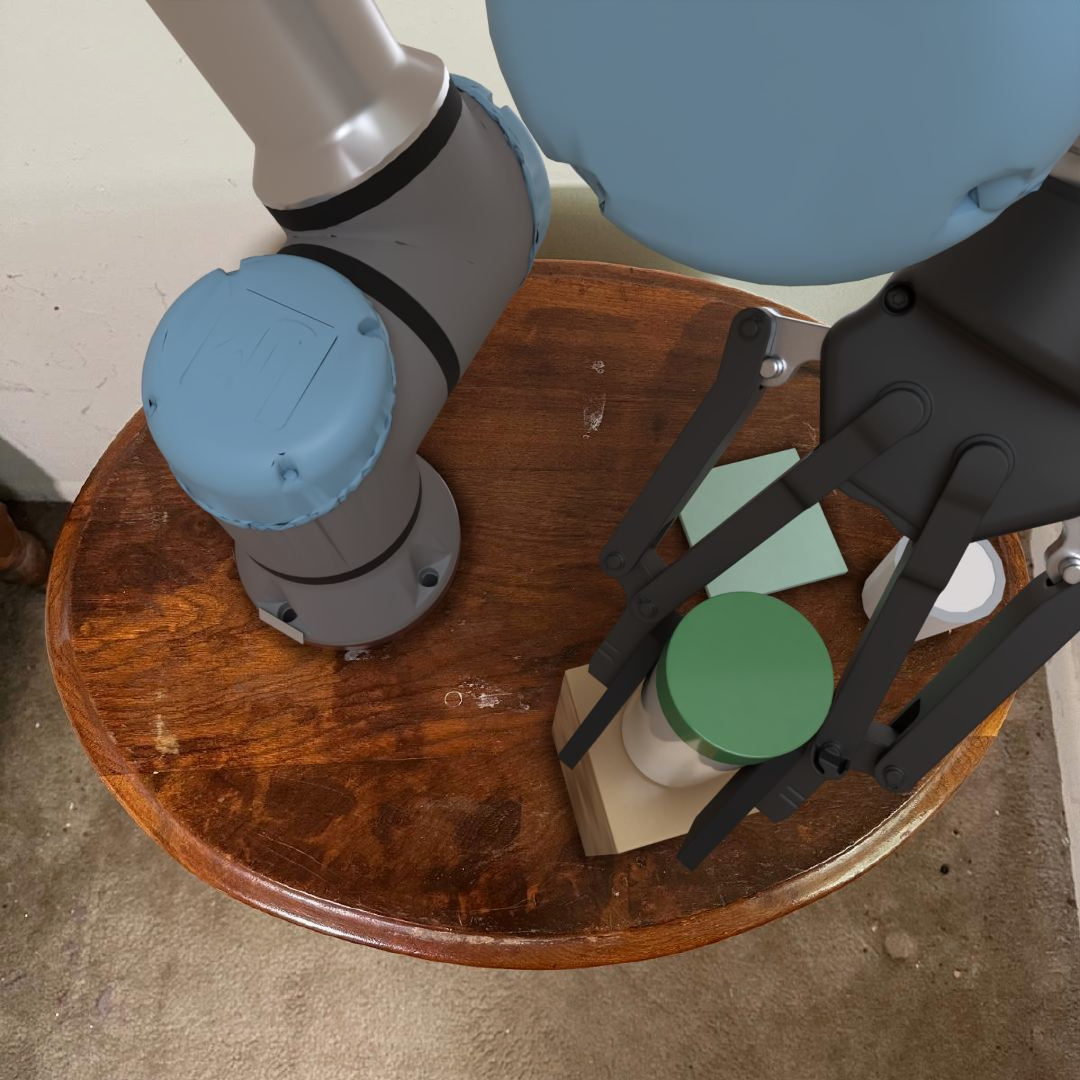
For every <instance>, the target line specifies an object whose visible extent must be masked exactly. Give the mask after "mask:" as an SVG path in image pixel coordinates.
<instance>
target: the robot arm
mask: <svg viewBox="0 0 1080 1080" xmlns="http://www.w3.org/2000/svg"><path fill="white" fill-rule="evenodd" d="M484 1H485V2H484V3H485V10H486V11H485V12H486V18H487V27H488V33H489V38H490V41H491V44H492V48H493V51H494V54H495V58H496V62H497V64H498V67H499V71H500V72H501V75H502V78H503V79H504V82H505V84H506V87H507V90H508V91H509V93H510V96H511V98H512V101H513V103H514V105H515V108H516V109H517V112H518V114H519V116H520V117H519V116H518V115H517V113H516V112H515V111H514V110H513V109H512V108H511V107H510V106H509V105H508V104H505V105H503V106H502V107H499V106H498V105H496V104H495V102H494V99H493V91H491V90H490V89H488V87H485V86H484V85H483V84H481V83H479V82H477V81H476V80H473V79H471V78H469V77H467V76H464V75H459V74H456V73H452V72H449V70H448V66H446V64H445V62H444V61H443V60H442V58H441V57H440V56H438V55H437V54H435V53H432V52H429V51H427V50H424V49H420V48H416V47H413V46H410V45H406V44H403V43H400V42H399V41H397V39H396V37H395V35H394V34H393V32H392V30H391V28H390V27H389V24H388V22H387V20H386V19H385V17H384V15H383V13H382V12H381V10H380V8H379V6H378V4H377V3H376V0H145V2H146V3H147V5H148V6H149V7H150V9H151V10H152V11H153V13H154V14H155V15H156V16H157V18H158V19H159V20H160V21H161V23H162V24H163V26H164V27H165V28H166V30H167V31H168V32H169V34H170V35H171V37H172V38H173V39H174V40H175V41H176V43H177V44H178V46H179V47H180V48H181V50H182V51H183V52H184V53H185V55H186V56H187V57H188V59H189V60H190V61H191V62H192V65H193V66H194V67H195V68H196V69H197V70H198V72H199V74H201V76H202V77H203V78H204V80H205V81H206V82H207V84H208V85H209V86H210V87H211V89H212V90H213V92H214V93H215V94H216V95H217V97H218V98H219V99H220V101H221V102H222V103H223V105H224V106H225V108H226V109H227V110H228V111H229V113H230V114H231V115H232V117H233V118H234V119H235V122H237V124H238V125H239V126H240V127H241V128H242V130H243V131H244V132H245V134H246V135H247V137H248V138H249V139H250V141H251V142H252V144H253V145H254V157H253V158H254V159H253V167H252V177H251V178H252V180H251V181H252V183H251V185H252V189H253V191H254V194H255V196H256V197H257V198H258V200H259V201H260V202H261V204H262V205H263V206H264V208H265V209H266V210H267V211H268V213H269V214H270V215H271V216H272V218H273V219H274V220H275V222H276V223H277V224H278V226H279V227H280V228H281V229H282V231H283V232H284V234H285V236H286V240H285V241H284V243H283V244H282V245H281V247H280V249H279V250H278V251H276V253H275V254H274V253H273V254H263V255H253V256H249V257H245V258H242V259H240V262H239V264H240V265H239V267H238V269H236V270H235V269H234V270H231V271H227V272H226V271H225V270H224V269H223V268H222V267H221V268H220V267H217V268H215V269H213V270H211V271H210V272H208V273H206V274H204V275H203V276H201V277H200V278H199V279H197V280H195V282H193V283H192V284H191V285H189V287H187V288H186V289H185V290H184V291H183V292H181V293H180V294H179V296H178V297H176V298H175V300H174V301H173V302H172V303H171V305H170V306H169V307H168V309H167V310H166V311H165V312H164V314H163V315H162V317H161V318H160V320H159V321H158V323H157V325H156V328H155V330H154V332H153V333H152V335H151V337H150V341H149V342H148V346H147V348H146V353H145V356H144V360H143V364H142V371H141V381H140V382H141V383H140V384H141V385H140V386H141V390H140V391H141V402H142V407H143V408H142V409H143V413H144V415H145V419H146V424H147V426H148V429H149V432H150V435H151V437H152V439H153V442H154V443H155V444H156V446H157V448H158V450H159V451H160V453H161V454H162V456H163V457H164V459H165V461H166V462H167V465H168V467H169V469H170V472H171V473H172V474H173V476H174V478H175V480H176V481H177V482H178V484H179V485H180V487H181V488H182V489H183V491H184V492H185V493H186V494H187V495H188V496H189V497H190V498H191V500H192V501H194V502H195V504H196V505H198V506H199V507H200V508H201V509H202V510H204V511H205V512H207V513H208V514H210V515H211V516H212V517H213V518H214V520H216V522H217V523H219V526H221V527H222V528H223V529H224V530H225V531H226V533H228V535H229V536H230V537H231V538H232V540H234V555H235V563H236V568H237V572H238V575H239V579H240V582H241V584H242V586H243V588H244V591H245V593H246V594H247V596H248V599H249V600H250V602H251V603H252V604H253V605H254V606H255V608H256V609H257V610H258V614H259V615H258V617H259V620H261V621H262V622H265V624H268V625H269V626H271V627H273V628H275V629H276V630H278V631H280V632H281V633H283V634H285V635H286V636H288V637H289V638H292V639H293V640H294V641H296V642H298V643H299V644H302V645H304V644H305V645H308V646H311V647H315V648H318V649H324V650H331V651H356V650H365V649H369V648H374V647H377V646H381V645H385V644H387V643H389V642H391V641H394V640H396V639H398V638H400V637H402V636H404V635H406V634H407V633H409V632H410V631H412V630H414V629H415V628H416V627H417V626H419V625H420V624H422V623H423V622H424V621H425V620H426V619H427V618H428V617H429V616H430V615H431V614H433V612H434V611H435V610H436V609H437V607H438V606H439V605H440V604H441V603H442V601H443V600H444V598H445V597H446V595H447V594H448V592H449V590H450V589H451V586H452V584H453V582H454V579H455V578H456V575H457V572H458V568H459V565H460V560H461V554H462V529H461V523H460V518H459V512H458V508H457V506H456V502H455V499H454V497H453V495H452V493H451V491H450V489H449V487H448V485H447V484H446V482H445V481H444V480H443V478H442V477H441V475H440V474H439V472H437V471H436V470H435V468H434V467H433V466H432V465H431V464H430V463H429V462H427V460H425V459H424V458H423V457H422V456H420V455H419V454H417V451H418V450H419V447H420V445H421V444H422V441H423V440H424V439H425V437H426V435H427V434H428V432H429V430H430V428H431V427H432V425H433V423H434V422H435V421H436V418H437V417H438V415H439V414H440V412H441V411H442V409H443V407H444V405H445V404H446V403H447V400H449V397H450V395H451V394H452V392H453V391H454V389H455V387H457V385H458V384H459V382H460V381H461V380H462V377H463V376H464V374H465V373H466V372H467V370H468V368H469V366H470V365H471V363H472V362H473V360H474V359H475V357H476V356H477V354H478V352H479V351H480V349H481V347H482V346H483V344H484V343H485V341H486V340H487V338H488V336H489V335H490V334H491V331H493V329H494V327H495V326H496V323H497V322H498V321H499V319H500V317H501V316H502V314H503V313H504V311H505V310H506V307H507V306H509V305H508V304H509V303H510V301H511V300H512V299H513V297H514V296H515V295H516V294H517V293H518V292H519V290H520V289H521V288H522V286H523V285H524V283H525V282H526V280H527V276H528V275H529V274H530V272H531V270H532V267H533V265H534V262H535V259H536V255H537V253H538V251H539V249H540V248H541V246H542V244H543V242H544V240H545V238H546V235H547V232H548V229H549V225H550V220H551V211H552V193H551V185H550V180H549V176H548V172H547V168H546V165H545V161H544V158H543V157H542V154H543V155H544V156H545V158H547V159H549V160H550V161H553V162H555V163H562V164H567V165H569V166H570V167H571V168H572V169H573V170H574V172H575V173H576V174H577V175H578V176H579V177H580V178H581V179H582V180H583V181H584V182H585V184H587V185H588V186H589V188H590V189H591V190H592V191H593V193H594V195H596V197H597V200H598V207H599V211H600V215H601V216H602V217H603V218H605V219H606V220H607V221H608V222H610V223H611V224H612V225H613V226H615V228H617V229H618V230H619V231H620V232H622V233H623V234H624V235H625V236H627V237H629V238H631V239H632V240H634V241H636V242H637V243H639V244H640V245H642V246H644V247H645V248H647V249H649V250H650V251H652V252H654V253H657V254H659V255H660V256H663V257H664V258H667V259H669V260H671V261H673V262H675V263H678V264H680V265H683V266H685V267H688V268H691V269H694V270H696V271H698V272H702V273H705V274H710V275H714V276H718V277H723V278H726V279H731V280H736V281H740V282H744V283H745V282H746V283H751V284H755V285H760V286H774V287H775V286H776V287H789V288H790V287H815V286H816V287H817V286H832V285H839V284H846V283H853V282H859V281H864V280H867V279H871V278H876V277H879V276H883V275H888V274H891V273H892V274H891V275H890V276H889V277H888V278H887V280H886V282H885V283H884V285H882V287H881V288H880V290H879V291H877V293H876V294H875V295H874V296H873V297H872V298H871V299H870V300H868V302H865V304H863V305H862V306H861V307H859V308H857V309H855V310H854V311H851V312H848V313H847V314H845V315H843V316H842V317H840V318H839V319H838V320H837V321H835V322H834V323H833V324H832V325H827V324H822V323H818V322H813V321H809V320H805V319H799V318H795V317H789V316H785V315H784V314H783V313H782V312H781V311H780V310H779V309H777V308H775V307H773V306H750V307H749V306H748V307H745V308H742V309H741V310H739V311H738V312H737V313H736V314H735V315H734V317H733V319H732V321H731V322H730V326H729V330H728V333H727V338H726V341H725V345H724V349H723V353H722V357H721V360H720V364H719V368H718V372H717V376H716V379H715V381H714V382H713V384H712V386H711V387H710V388H709V389H708V391H707V393H706V394H705V396H704V397H703V399H702V400H701V402H700V403H699V404H698V406H697V408H696V409H695V411H694V412H693V413H692V415H691V417H690V418H689V420H688V421H687V422H686V424H685V426H684V427H683V428H682V430H681V431H680V433H679V435H678V436H677V438H676V439H675V441H673V443H672V444H671V446H670V448H669V449H668V451H667V452H666V453H665V455H664V456H663V458H662V460H661V461H660V463H659V464H658V466H657V467H656V468H655V470H654V471H653V473H652V474H651V476H650V477H649V479H648V480H647V481H646V483H645V485H644V486H643V488H642V489H641V491H640V492H639V493H638V495H637V497H636V498H635V499H634V501H633V503H632V504H631V505H630V507H629V509H627V512H626V513H625V514H624V516H623V518H622V519H621V520H620V522H619V523H618V525H616V528H615V529H614V531H613V532H612V534H611V535H610V537H609V538H608V540H607V541H606V542H605V544H604V545H603V547H602V548H601V550H600V553H599V555H598V564H599V567H600V569H601V570H602V572H604V574H605V575H606V576H609V577H610V578H613V579H614V578H615V579H616V581H617V582H618V584H619V585H620V587H621V588H622V590H623V592H624V595H625V597H626V598H625V599H626V605H625V608H624V611H623V613H622V614H621V615H620V617H619V618H618V619H617V621H616V622H615V624H614V625H613V627H612V628H611V629H610V630H609V632H608V634H607V635H606V636H605V637H604V639H603V640H602V641H601V643H600V645H599V646H598V648H597V649H596V650H595V652H594V653H593V654H592V656H591V657H590V659H589V662H588V664H589V668H588V673H589V674H591V675H592V676H593V677H594V678H596V679H597V680H598V681H599V682H600V683H602V684H603V685H604V686H605V687H607V688H608V689H607V690H606V691H605V693H604V694H603V695H602V697H601V698H600V699H599V701H598V702H597V703H596V705H595V706H594V707H593V709H592V710H591V711H590V713H589V714H588V715H587V717H586V718H585V719H584V721H583V722H582V723H581V725H580V726H579V727H578V729H577V730H576V732H575V733H574V734H573V736H572V737H571V738H570V740H569V741H568V742H567V744H566V745H565V746H564V748H563V749H562V750H561V752H560V753H559V754H558V753H557V755H556V758H557V759H558V760H559V761H560V760H561V761H562V762H563V763H564V764H565V765H566V766H568V767H569V768H570V769H571V770H573V768H574V767H575V766H576V765H577V764H578V762H579V761H580V760H581V759H582V757H583V756H584V755H585V754H586V752H587V751H588V750H589V749H590V748H591V746H592V745H593V744H594V743H595V741H596V740H597V739H598V738H599V736H600V735H601V734H602V733H603V731H604V730H605V729H606V727H607V726H608V725H609V723H610V722H611V721H612V720H613V718H614V717H615V716H616V714H617V713H618V712H619V711H620V709H621V708H622V707H623V705H624V704H625V703H626V701H627V700H628V699H629V698H630V696H631V695H632V694H633V692H634V691H635V690H636V689H637V687H638V686H639V685H640V683H641V682H642V681H643V679H644V678H645V677H646V676H647V674H648V673H649V671H650V670H651V669H652V667H653V666H654V664H655V663H656V661H657V660H658V659H659V657H660V654H661V652H662V649H663V647H664V645H665V644H666V642H667V640H668V639H669V637H670V636H671V634H672V633H673V631H674V630H675V628H676V627H677V625H678V624H679V623H680V621H681V620H682V619H683V618H684V616H683V615H681V614H680V613H679V612H677V609H678V608H679V607H680V606H682V605H683V604H685V603H686V602H687V601H688V600H690V599H691V598H692V597H694V596H695V595H697V594H698V593H699V592H700V591H702V590H703V589H705V586H707V585H708V584H709V583H711V582H712V581H713V580H715V579H716V578H717V577H718V576H720V575H721V574H722V573H724V572H725V571H726V570H728V569H729V568H730V567H732V566H733V565H734V564H736V563H737V562H738V561H739V560H741V559H742V558H743V557H745V556H746V555H747V554H749V553H750V552H751V551H753V550H754V549H755V548H757V547H758V546H759V545H760V544H762V543H763V542H764V541H766V540H767V539H768V538H770V537H771V536H772V535H774V534H775V533H776V532H778V531H779V530H780V529H781V528H783V527H784V526H785V525H787V524H788V523H789V522H791V521H792V520H793V519H795V518H796V517H797V516H799V515H800V514H801V513H803V512H804V511H805V510H807V509H809V508H811V507H812V506H814V505H815V504H816V503H818V502H820V501H822V500H823V499H824V498H826V497H827V496H829V495H830V494H831V493H832V492H834V491H835V490H838V491H840V492H841V493H843V494H844V495H845V496H846V497H848V498H849V499H851V500H854V501H856V502H859V503H862V504H864V505H867V506H869V507H872V508H876V509H877V510H879V511H880V512H881V514H882V515H883V516H884V517H885V518H886V519H887V520H888V522H889V523H890V524H891V525H892V526H893V527H894V529H895V530H896V531H897V532H898V533H900V534H901V535H903V536H906V537H907V538H909V540H908V542H907V545H906V547H905V549H904V552H903V554H902V556H901V558H900V560H899V562H898V564H897V566H896V568H895V570H894V572H893V574H892V576H891V578H890V580H889V582H888V584H887V586H886V588H885V590H884V592H883V594H882V596H881V598H880V600H879V602H878V604H877V606H876V608H875V610H874V612H873V614H872V616H871V618H870V620H868V622H867V624H866V626H865V628H864V630H863V632H862V634H861V636H860V638H859V640H858V642H857V644H856V645H855V648H854V649H853V652H852V654H851V656H850V658H849V660H848V662H847V663H846V666H845V668H844V670H843V671H842V674H841V676H840V678H839V680H838V682H837V683H836V685H835V687H834V691H833V698H832V703H831V706H830V709H829V712H828V714H827V716H826V718H825V720H824V722H823V724H822V725H821V727H820V728H819V729H818V731H817V732H816V733H815V734H814V735H813V736H812V737H811V738H810V739H809V740H808V741H807V742H805V743H804V744H803V745H801V746H800V747H798V748H796V749H795V750H793V751H791V752H788V753H786V754H783V755H781V756H778V757H775V758H773V759H770V760H768V761H765V762H762V763H757V764H753V765H746V766H744V767H742V768H740V769H739V770H738V771H737V772H736V773H735V775H734V776H733V777H732V778H731V779H730V780H729V781H728V782H727V783H726V784H725V786H724V787H723V788H722V789H721V790H720V791H719V792H718V793H717V794H716V795H715V796H714V798H713V799H712V800H711V801H710V802H709V803H708V804H707V805H706V806H705V807H704V808H703V810H702V811H701V812H700V813H699V814H698V815H697V816H696V817H695V819H694V821H693V823H692V825H691V827H690V829H689V831H688V833H686V834H685V835H686V836H685V838H684V839H683V841H682V843H681V846H680V847H679V849H678V851H677V853H676V856H675V857H674V859H676V860H677V861H678V862H679V863H680V864H682V865H683V866H684V867H685V868H686V869H687V870H688V871H690V872H691V873H693V872H694V871H695V870H696V869H697V868H698V867H699V865H701V864H702V863H703V862H704V860H706V859H707V858H708V856H709V855H711V854H712V853H713V852H714V850H715V849H716V848H717V847H718V846H719V845H720V844H721V843H722V842H723V841H724V840H725V839H726V838H727V837H728V836H729V835H730V834H731V832H732V831H734V830H735V828H737V826H738V825H739V824H740V823H741V822H742V821H743V820H744V819H745V818H746V817H747V816H749V815H748V814H749V812H750V811H751V810H752V809H753V808H754V807H755V808H756V809H758V810H759V811H760V812H759V813H761V814H763V815H764V816H765V817H766V818H767V819H769V820H770V821H771V822H772V823H774V824H776V823H779V822H782V821H784V820H787V819H789V818H790V817H791V816H792V815H793V814H794V813H795V812H796V811H797V810H798V809H799V808H800V807H801V806H802V805H803V804H804V803H805V802H806V801H807V800H808V799H809V798H810V797H811V796H812V795H813V794H814V793H815V792H816V791H817V790H818V789H820V787H821V786H822V785H823V784H824V783H825V782H827V780H828V781H838V780H840V779H843V778H845V777H846V775H847V774H848V773H849V771H850V770H853V771H856V772H860V773H862V774H865V775H867V776H870V777H872V778H874V779H875V782H876V783H877V784H878V785H879V786H880V788H882V789H884V790H885V791H887V792H890V793H895V794H900V793H906V792H908V791H909V790H911V789H912V788H913V787H914V786H916V785H917V784H918V783H919V782H920V781H921V780H922V779H923V778H924V777H925V776H926V775H927V774H928V773H929V772H930V771H932V769H933V768H935V767H936V765H938V764H939V763H940V762H941V761H942V760H944V759H945V758H946V757H947V756H948V755H949V754H950V753H951V752H952V751H953V750H954V749H955V748H956V747H958V745H959V744H961V742H963V741H964V740H965V739H966V738H967V737H968V736H969V735H970V734H971V733H972V732H973V731H974V730H976V729H977V728H978V727H979V726H980V725H981V724H982V723H983V722H984V721H985V720H987V718H988V717H989V716H990V715H992V714H993V713H994V712H995V711H996V710H997V709H998V708H999V707H1000V706H1001V705H1003V704H1004V702H1005V701H1006V700H1008V699H1009V698H1010V697H1011V696H1013V694H1014V693H1015V692H1016V691H1017V690H1018V689H1020V687H1021V686H1023V685H1024V684H1025V683H1026V682H1027V681H1028V680H1029V679H1031V677H1033V675H1034V674H1035V673H1036V672H1037V671H1039V670H1040V669H1041V668H1042V667H1043V666H1044V665H1045V664H1046V663H1047V662H1048V661H1049V660H1051V658H1053V657H1054V656H1055V655H1056V654H1057V653H1058V652H1059V651H1061V649H1062V648H1063V647H1064V646H1065V645H1067V644H1068V643H1069V642H1070V641H1071V640H1072V639H1073V638H1074V637H1075V636H1076V635H1077V634H1078V633H1079V632H1080V0H484ZM538 147H539V148H538ZM541 152H542V154H541ZM811 361H814V362H819V431H818V432H819V435H818V436H819V437H818V439H819V440H818V441H819V442H818V444H817V445H816V446H815V447H813V448H812V449H810V451H809V452H807V453H806V454H804V455H803V456H802V457H801V458H800V460H799V461H798V462H796V463H795V464H794V465H793V466H792V467H790V468H789V469H788V470H787V471H786V472H784V473H783V474H782V475H781V476H779V477H778V478H777V479H776V480H774V481H773V482H772V483H771V484H769V485H768V486H767V487H766V488H764V489H763V490H762V491H761V492H759V493H758V494H757V495H756V496H754V497H753V498H752V499H751V500H749V501H748V502H747V503H746V504H744V505H743V506H742V507H741V508H739V509H738V510H737V511H736V512H734V513H733V514H732V515H731V516H729V517H728V518H727V519H726V520H724V521H723V522H722V523H721V524H720V525H718V526H717V527H716V528H715V529H713V530H712V531H711V532H710V533H708V534H707V535H706V536H705V537H703V538H702V539H701V540H700V541H698V542H697V543H696V544H695V545H693V546H692V547H691V548H690V547H689V548H688V549H687V550H686V551H684V552H683V553H682V554H681V555H680V556H678V557H677V558H676V559H674V560H673V561H672V562H671V563H669V564H668V565H667V566H666V564H665V563H664V561H663V560H662V558H661V557H660V555H659V554H658V552H657V551H656V548H657V547H658V545H659V544H660V542H661V541H662V539H663V538H664V537H665V536H666V534H667V533H668V531H669V530H670V528H671V527H672V526H673V525H674V523H675V521H676V520H677V519H678V518H679V514H680V513H681V512H682V510H683V509H684V507H685V506H686V505H687V503H688V502H689V500H690V499H691V498H692V496H693V495H694V493H695V492H696V491H697V489H698V488H699V486H700V485H701V484H702V482H703V481H704V479H705V478H706V476H707V475H708V474H709V472H710V471H711V469H712V468H715V465H716V464H717V463H718V461H719V460H720V458H721V457H722V456H723V454H724V453H725V452H726V450H727V448H728V447H729V446H730V445H731V443H732V442H733V440H734V439H735V437H736V436H737V435H738V433H739V431H740V430H741V429H742V427H743V426H744V425H745V423H746V422H747V420H748V419H749V418H750V416H752V414H753V412H754V410H755V409H756V408H757V406H758V405H759V403H760V401H761V400H762V399H763V397H764V395H765V393H766V391H767V389H768V388H776V387H777V388H778V387H780V386H782V385H784V384H787V383H789V382H791V380H792V379H794V377H795V375H796V374H797V373H798V371H799V369H800V368H801V367H802V366H803V365H805V363H807V362H811ZM1059 523H1061V526H1062V528H1061V532H1060V534H1059V536H1058V537H1057V539H1055V540H1054V541H1053V542H1052V543H1050V545H1048V546H1047V547H1046V549H1045V551H1044V553H1043V556H1042V562H1043V567H1044V569H1045V570H1043V571H1042V572H1041V573H1039V574H1038V575H1037V576H1035V577H1034V578H1032V579H1031V580H1030V581H1028V583H1027V584H1026V585H1025V586H1024V587H1022V588H1021V589H1020V590H1019V591H1017V593H1016V594H1015V595H1014V596H1013V597H1012V598H1011V599H1010V600H1009V601H1008V602H1007V603H1006V604H1005V605H1004V606H1003V607H1002V608H1001V609H1000V610H999V611H998V612H997V613H996V614H995V615H994V616H993V617H992V618H991V620H989V621H988V622H987V623H986V624H985V625H984V626H983V628H981V630H980V631H978V632H977V633H976V634H975V636H973V638H972V639H971V640H969V642H967V643H966V645H964V646H963V648H962V649H960V650H959V652H958V653H956V654H955V656H953V657H952V658H951V659H950V660H949V662H947V664H945V666H943V667H942V668H941V670H940V671H938V672H937V674H936V675H934V676H933V678H931V680H930V681H928V683H927V684H926V685H925V686H923V688H921V689H920V691H919V692H918V693H917V694H916V695H914V697H913V698H911V700H910V701H909V702H908V703H907V704H906V705H904V707H903V708H902V709H901V710H899V712H897V714H896V715H895V716H894V717H893V718H892V719H890V721H889V722H888V723H887V724H884V723H881V722H880V721H877V720H875V719H874V718H875V716H876V714H877V712H878V711H879V709H880V707H881V705H882V703H883V702H884V699H885V697H886V695H887V694H888V692H889V690H890V688H891V686H892V684H893V682H894V680H895V679H896V677H897V675H898V673H899V671H900V669H901V668H902V666H903V664H904V662H905V660H906V658H907V656H908V655H909V652H910V651H911V649H912V647H913V645H914V644H915V642H916V641H915V639H916V638H917V636H918V634H919V632H920V630H921V628H922V626H923V625H924V623H925V621H926V619H927V617H928V615H929V613H930V611H931V610H932V608H933V606H934V604H935V602H936V600H937V598H938V597H939V595H940V593H941V592H942V591H944V589H945V588H946V586H947V584H948V583H949V581H950V579H951V577H952V575H953V574H954V572H955V570H956V568H957V566H958V564H959V562H960V560H961V559H962V557H963V555H964V553H965V551H966V549H967V547H968V546H969V544H970V543H974V542H978V541H982V540H986V539H987V540H990V539H991V540H992V539H994V538H999V537H1003V536H1007V535H1012V534H1015V533H1020V532H1024V531H1028V530H1032V529H1037V528H1041V527H1045V526H1049V525H1053V524H1059Z"/></svg>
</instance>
